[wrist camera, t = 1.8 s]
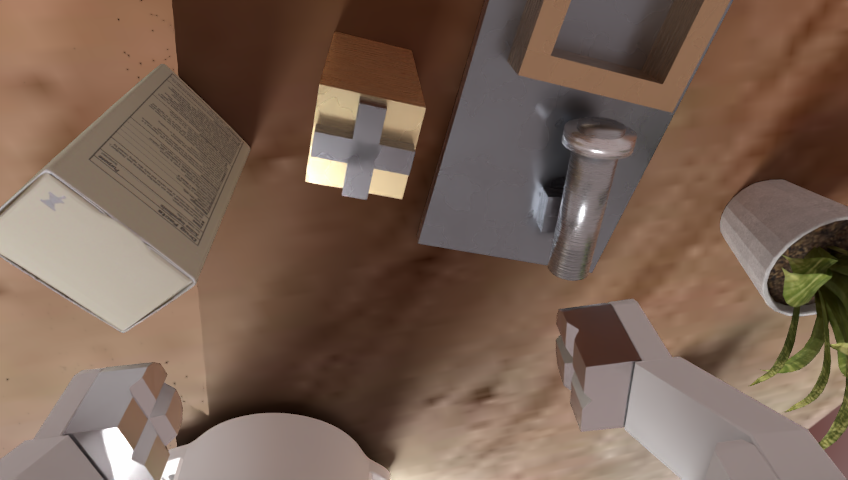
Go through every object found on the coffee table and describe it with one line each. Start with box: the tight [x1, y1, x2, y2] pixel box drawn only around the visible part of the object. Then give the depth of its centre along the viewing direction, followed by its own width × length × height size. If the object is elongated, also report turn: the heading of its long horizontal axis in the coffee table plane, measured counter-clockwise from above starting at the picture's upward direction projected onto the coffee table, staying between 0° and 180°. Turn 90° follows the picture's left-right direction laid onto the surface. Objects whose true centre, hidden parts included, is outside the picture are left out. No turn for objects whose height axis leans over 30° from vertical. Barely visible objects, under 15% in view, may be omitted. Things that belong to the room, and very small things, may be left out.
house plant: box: [720, 180, 848, 450], centre depth 28 cm, size 14×14×16 cm
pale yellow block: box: [305, 32, 426, 200], centre depth 24 cm, size 4×4×10 cm
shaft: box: [536, 117, 637, 281], centre depth 29 cm, size 9×4×4 cm, turn 178°
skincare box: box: [0, 64, 250, 333], centre depth 24 cm, size 6×4×12 cm
